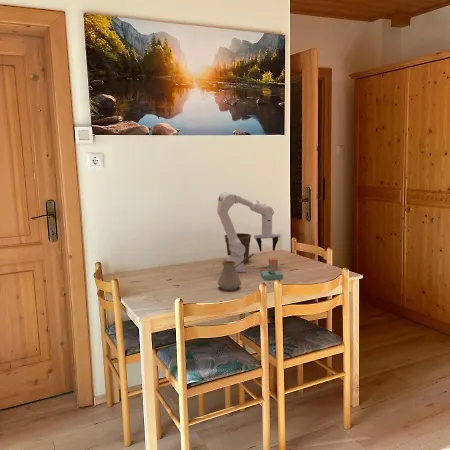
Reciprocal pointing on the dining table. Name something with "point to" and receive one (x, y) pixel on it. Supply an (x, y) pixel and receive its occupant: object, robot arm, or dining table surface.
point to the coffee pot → (230, 275)
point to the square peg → (274, 263)
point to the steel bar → (271, 269)
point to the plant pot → (244, 240)
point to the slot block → (267, 276)
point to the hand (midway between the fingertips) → (267, 250)
